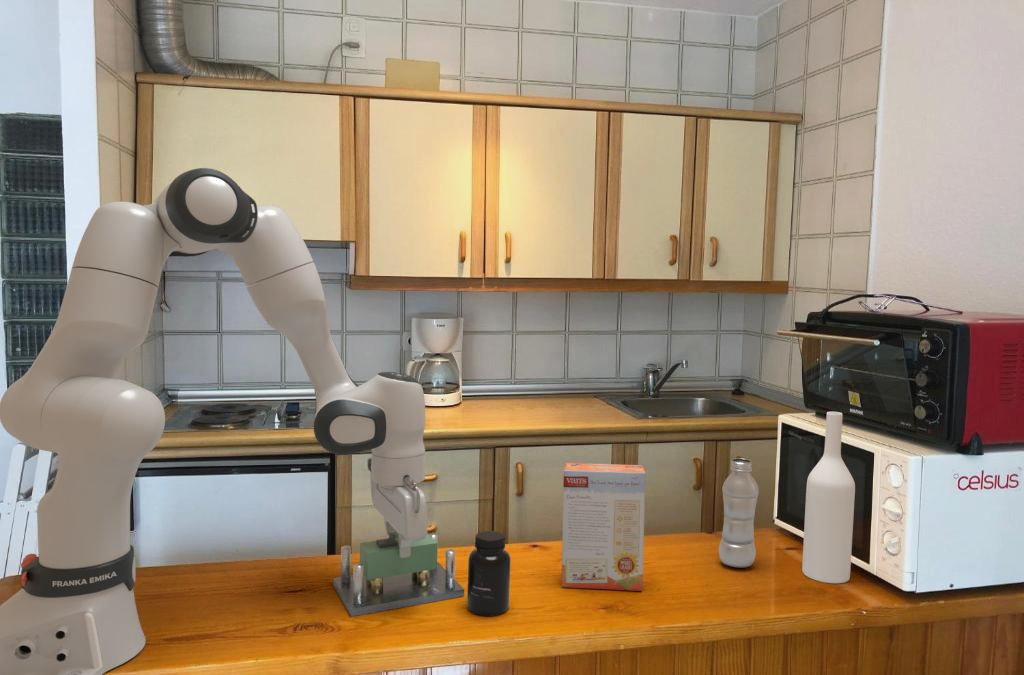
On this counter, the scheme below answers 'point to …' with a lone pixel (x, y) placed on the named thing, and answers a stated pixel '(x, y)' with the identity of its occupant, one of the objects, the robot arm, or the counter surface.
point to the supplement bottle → (489, 575)
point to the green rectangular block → (397, 557)
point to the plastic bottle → (739, 515)
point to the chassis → (394, 586)
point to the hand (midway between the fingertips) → (398, 549)
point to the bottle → (829, 512)
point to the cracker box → (603, 526)
